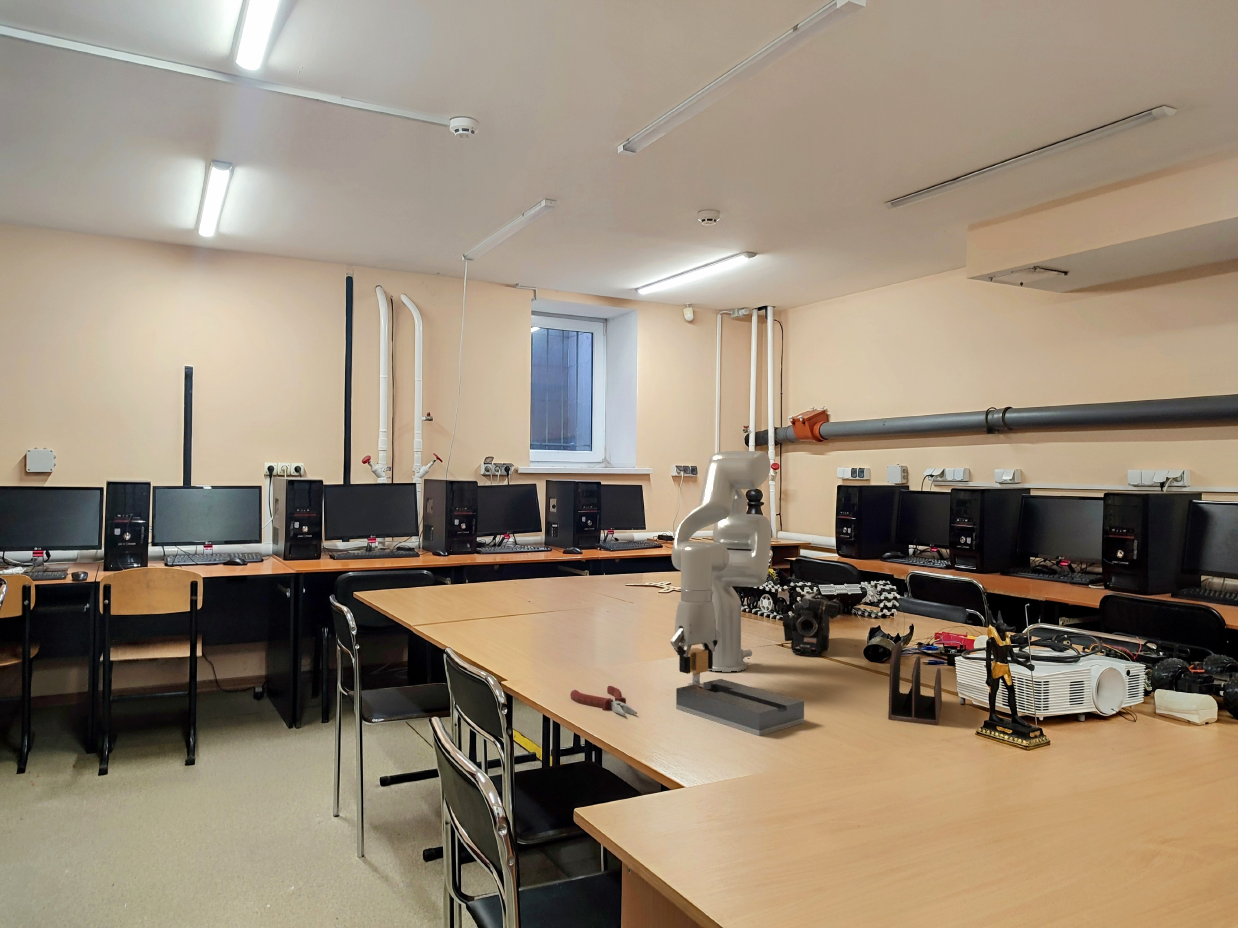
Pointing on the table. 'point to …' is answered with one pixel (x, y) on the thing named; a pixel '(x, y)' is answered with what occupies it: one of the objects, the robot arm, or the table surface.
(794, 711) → the keyhole track
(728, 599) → the robot arm
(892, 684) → the letter holder
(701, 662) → the peg
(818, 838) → the table surface
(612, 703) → the pliers
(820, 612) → the movie camera
